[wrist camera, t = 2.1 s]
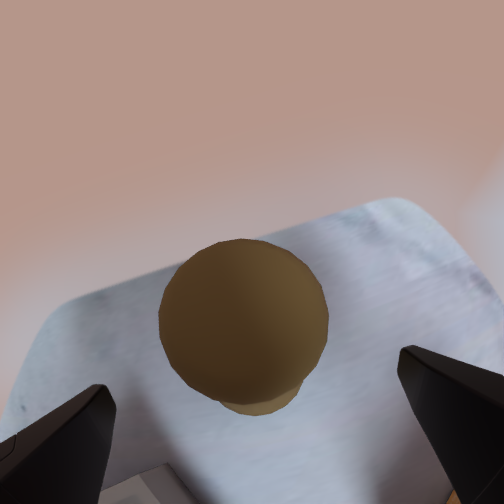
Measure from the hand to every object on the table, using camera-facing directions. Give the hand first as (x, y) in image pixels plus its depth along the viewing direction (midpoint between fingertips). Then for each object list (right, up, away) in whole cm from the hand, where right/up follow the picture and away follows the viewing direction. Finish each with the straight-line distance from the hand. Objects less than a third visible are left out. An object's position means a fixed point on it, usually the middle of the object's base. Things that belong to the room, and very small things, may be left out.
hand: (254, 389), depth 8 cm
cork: (0, -3, +9) cm, 10 cm away
